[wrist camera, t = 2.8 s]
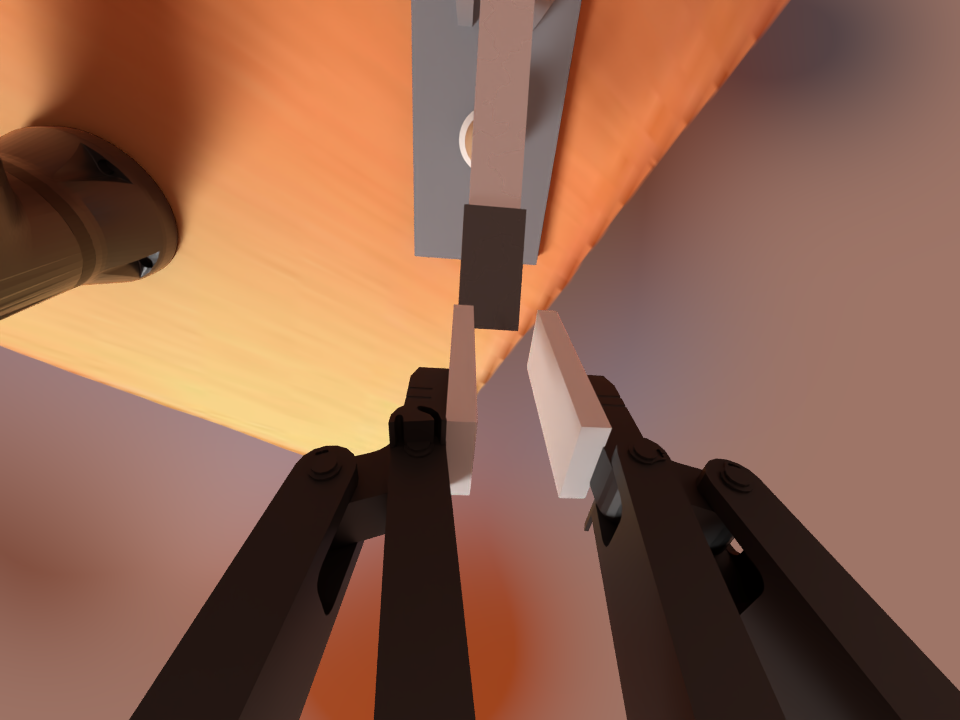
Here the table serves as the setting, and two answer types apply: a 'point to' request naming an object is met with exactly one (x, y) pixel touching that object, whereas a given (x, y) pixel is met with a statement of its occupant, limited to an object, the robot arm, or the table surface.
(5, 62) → the table surface
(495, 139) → the press lever
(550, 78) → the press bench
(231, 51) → the table surface
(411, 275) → the table surface
